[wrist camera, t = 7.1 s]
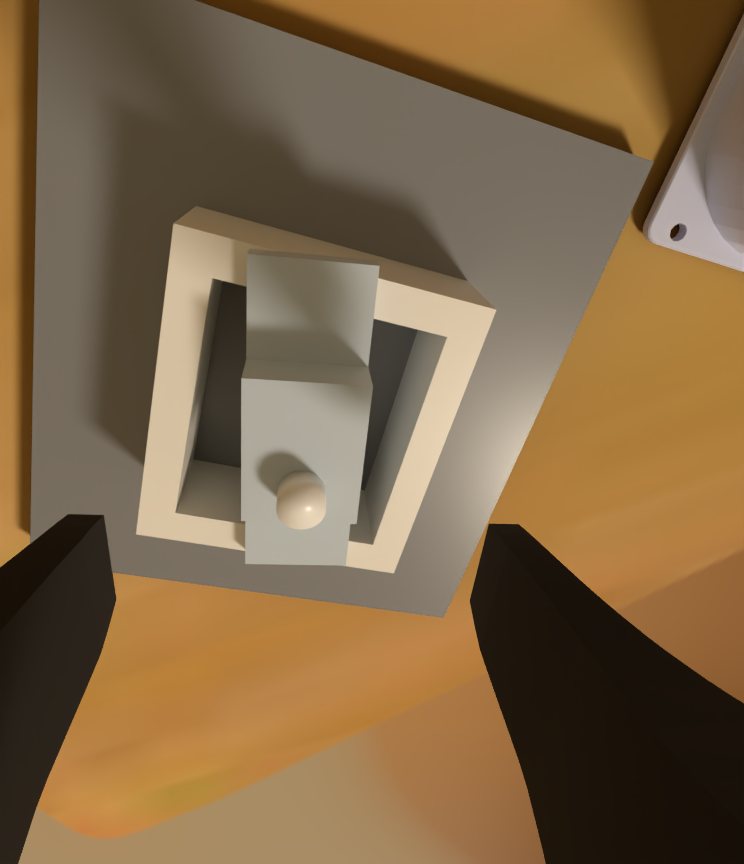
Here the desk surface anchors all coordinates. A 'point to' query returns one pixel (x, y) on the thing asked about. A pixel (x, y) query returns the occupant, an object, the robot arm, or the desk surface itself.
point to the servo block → (304, 404)
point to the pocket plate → (298, 233)
